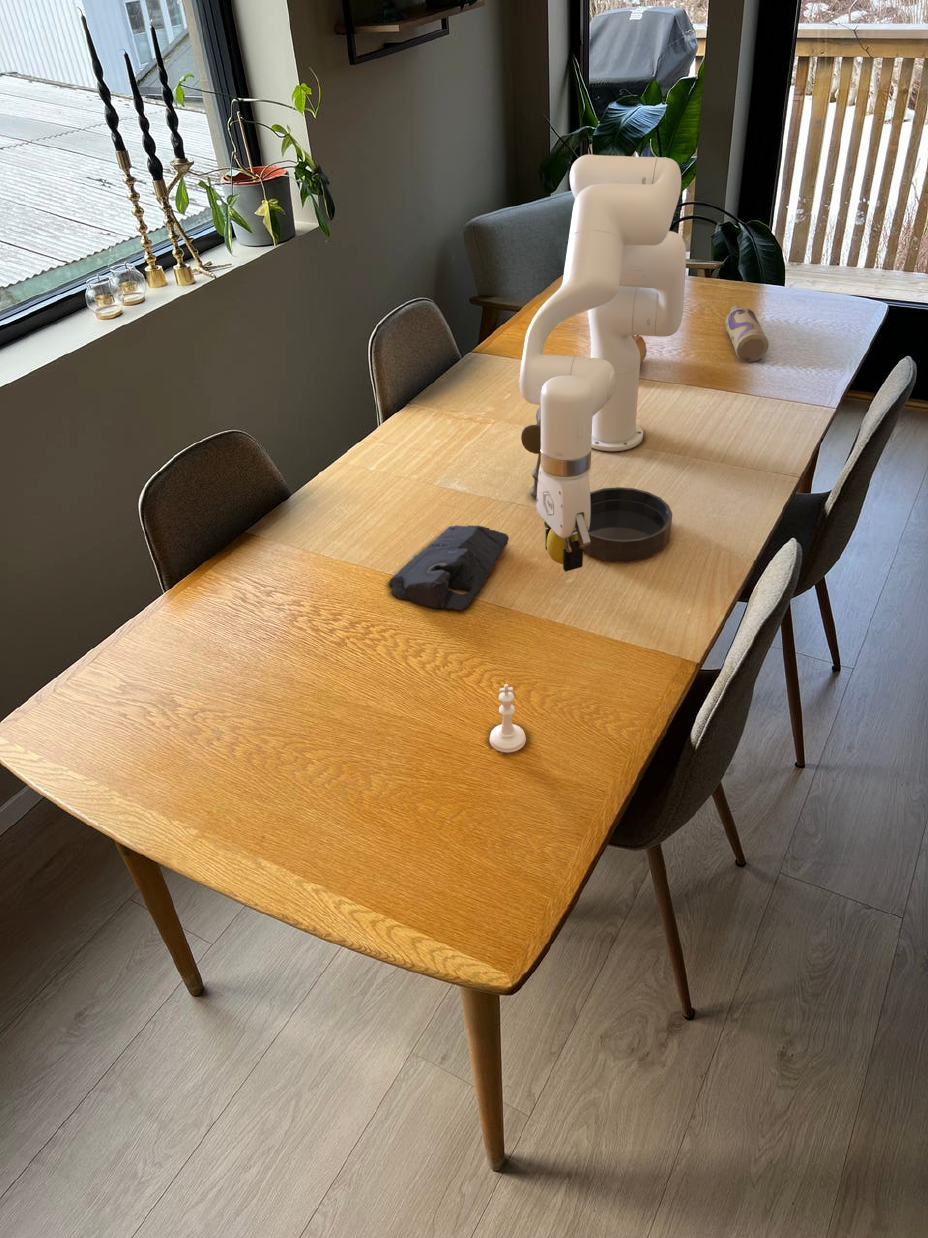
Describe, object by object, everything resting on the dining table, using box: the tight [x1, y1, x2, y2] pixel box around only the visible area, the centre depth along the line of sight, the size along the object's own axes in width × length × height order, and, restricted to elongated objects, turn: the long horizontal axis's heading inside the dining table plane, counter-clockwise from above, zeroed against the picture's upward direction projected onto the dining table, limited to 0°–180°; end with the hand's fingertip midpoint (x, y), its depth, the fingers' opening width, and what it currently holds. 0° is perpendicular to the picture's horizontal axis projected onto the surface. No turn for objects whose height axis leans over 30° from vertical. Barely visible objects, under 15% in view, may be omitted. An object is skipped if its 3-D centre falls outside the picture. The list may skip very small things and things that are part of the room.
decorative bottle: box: [724, 304, 770, 363], centre depth 229 cm, size 26×8×7 cm, turn 176°
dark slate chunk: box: [388, 524, 509, 611], centre depth 162 cm, size 15×22×5 cm
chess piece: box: [489, 683, 527, 753], centre depth 129 cm, size 5×5×10 cm
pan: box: [583, 486, 673, 563], centre depth 168 cm, size 17×17×4 cm
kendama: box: [520, 405, 541, 500], centre depth 175 cm, size 6×10×20 cm, turn 157°
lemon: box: [546, 527, 578, 565], centre depth 155 cm, size 6×6×8 cm
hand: (563, 557), depth 157 cm, fingers closed on lemon, 5 cm apart
